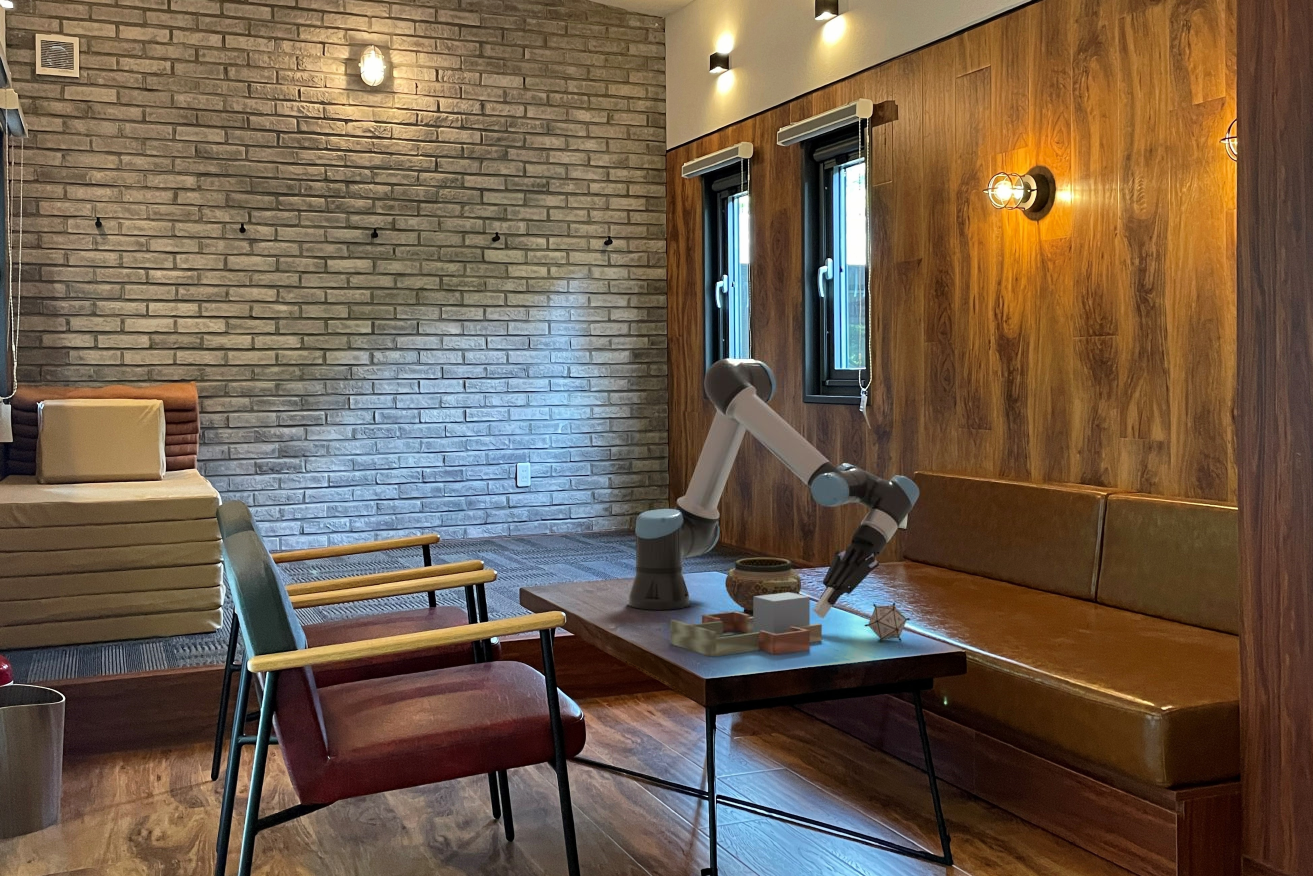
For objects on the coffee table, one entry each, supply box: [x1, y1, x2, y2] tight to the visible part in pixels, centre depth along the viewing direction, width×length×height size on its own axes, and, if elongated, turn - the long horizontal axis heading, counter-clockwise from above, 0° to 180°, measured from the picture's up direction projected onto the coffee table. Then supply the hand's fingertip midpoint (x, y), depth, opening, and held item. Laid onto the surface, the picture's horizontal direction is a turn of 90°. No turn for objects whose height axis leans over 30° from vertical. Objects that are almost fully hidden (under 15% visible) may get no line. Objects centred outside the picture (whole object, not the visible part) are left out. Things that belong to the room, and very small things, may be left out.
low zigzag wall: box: [670, 610, 823, 658], centre depth 260 cm, size 26×29×5 cm
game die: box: [863, 601, 911, 643], centre depth 262 cm, size 9×8×10 cm
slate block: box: [753, 592, 811, 634], centre depth 265 cm, size 7×10×9 cm
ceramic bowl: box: [724, 556, 802, 617], centre depth 291 cm, size 24×18×15 cm
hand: (818, 613), depth 270 cm, fingers closed
